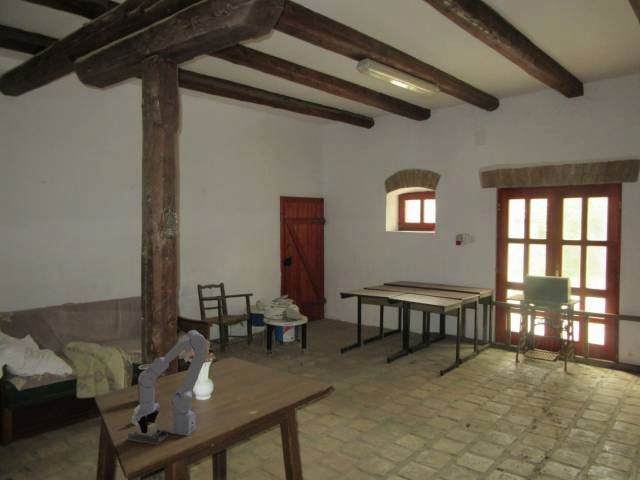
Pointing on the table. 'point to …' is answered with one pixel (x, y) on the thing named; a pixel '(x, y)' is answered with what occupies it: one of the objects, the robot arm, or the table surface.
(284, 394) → the table surface
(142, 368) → the travel mug
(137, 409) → the white wedge bracket
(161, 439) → the rail mount
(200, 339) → the robot arm
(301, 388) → the table surface
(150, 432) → the module
